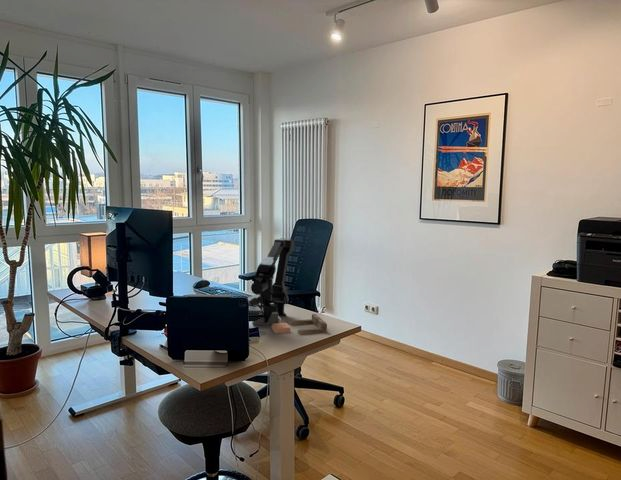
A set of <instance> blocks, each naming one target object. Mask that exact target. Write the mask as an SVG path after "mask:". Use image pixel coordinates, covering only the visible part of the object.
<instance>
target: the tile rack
mask: <svg viewBox="0 0 621 480" xmlns="http://www.w3.org/2000/svg"><path fill="white" fill-rule="evenodd" d="M309 324H310V325H311V324H312V325H314V326H315V327H316V328H303V329H302V328H301V329H298V330H297V334H299V335H309V334H311V335H312V334H320V333H322V334H323V333H327V330H328V324H327V322H326V321H325V320H324V319H323V318H321V317H320V316H319V315H318V314H316V313H312V314H311V318H310V319H309V318H308V319H296V320H295V319H294V320H289V325H290V326H296V325H297V326H298V325H309Z"/></svg>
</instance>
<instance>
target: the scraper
mask: <svg viewBox="0 0 621 480" xmlns="http://www.w3.org/2000/svg"><path fill="white" fill-rule="evenodd" d="M258 313H259V314H260V315H264V314H263V313H262V312H258ZM274 323H282V318H281V316H278V313H277V312H272V314H271V316H270V318H269V320H268V322H267V323H265V321H264V318H260V319H258V320H257V321H252V320H251V325H252V326H262V325H263V326H265V325H272V324H274Z"/></svg>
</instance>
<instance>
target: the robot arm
mask: <svg viewBox="0 0 621 480" xmlns="http://www.w3.org/2000/svg"><path fill="white" fill-rule="evenodd" d="M295 243H296V242H295V241H294V240H293V239H292V238H282V237H281V238H276V239H275V238H274V240H273V244H272V246H271V249H270V251H269V253H268V254H267V257H266V258H264V259H262V260H261V262H259V265H258V266H257V268H256V273H255V275H254V279H255V280H254V282H252V283H251V286H250V290H251V293H252V294H254V295H252V296H249V297H247V298H246V299H248V300H247V302H248V305H249V306H250V307H255V306H256V305H257V307H258V308H259V309H260V311H261V312H260V313H263V314H264V321H265V323H267V322H268V320H269V318H270V316H271V314H272V312H277V313H278V316H279V317H284V316H285V317H286V316H287V313H285V305H288V304H289V299H290V298H289V296H288V294H287V288H286V286H285V280H286V275H287V269H288V261H289V257H290V255H292V253H293V251H294V249H295ZM276 263H277V267H276ZM274 276H275V278H274ZM273 279H275V281H274V283H273Z"/></svg>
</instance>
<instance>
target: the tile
mask: <svg viewBox="0 0 621 480" xmlns="http://www.w3.org/2000/svg"><path fill="white" fill-rule="evenodd" d="M271 330H272V331H273V332H274V334H282V333H283V334H284V333H291V325H290V324H288V323H287V322H281V323H274V324H271Z"/></svg>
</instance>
